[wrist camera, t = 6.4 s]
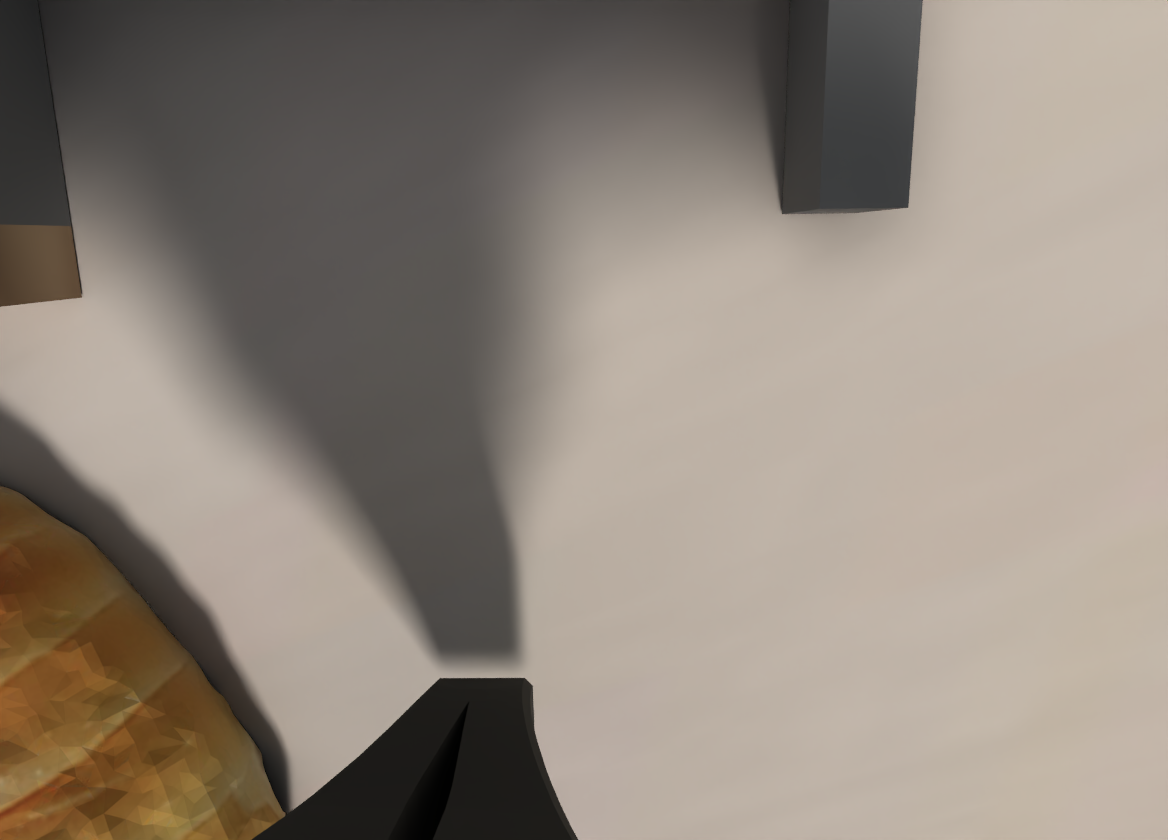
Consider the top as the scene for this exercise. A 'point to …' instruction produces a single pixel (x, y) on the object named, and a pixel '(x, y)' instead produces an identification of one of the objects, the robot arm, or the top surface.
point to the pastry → (108, 706)
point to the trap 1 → (812, 131)
